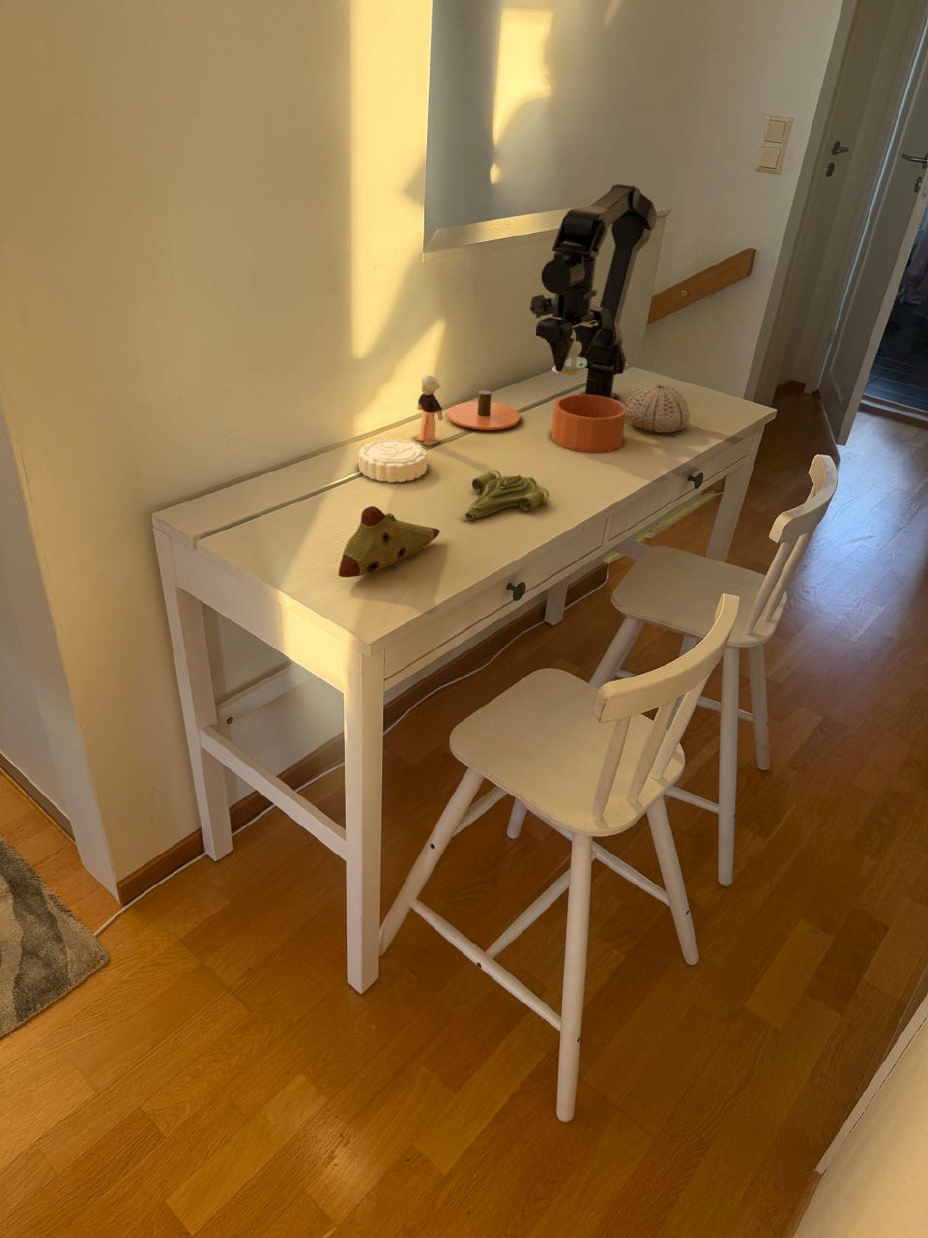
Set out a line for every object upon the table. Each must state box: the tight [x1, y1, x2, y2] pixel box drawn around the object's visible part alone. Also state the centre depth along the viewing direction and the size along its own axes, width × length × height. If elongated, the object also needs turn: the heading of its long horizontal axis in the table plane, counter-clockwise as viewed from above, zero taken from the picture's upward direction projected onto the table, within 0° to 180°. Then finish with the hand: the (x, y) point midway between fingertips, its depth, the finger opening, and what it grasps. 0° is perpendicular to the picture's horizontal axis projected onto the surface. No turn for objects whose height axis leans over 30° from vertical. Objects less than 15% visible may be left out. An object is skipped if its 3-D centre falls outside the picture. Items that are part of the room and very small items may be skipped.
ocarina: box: [338, 505, 440, 578], centre depth 127 cm, size 20×5×10 cm, turn 139°
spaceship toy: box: [464, 469, 550, 521], centre depth 147 cm, size 12×18×4 cm
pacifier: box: [551, 341, 587, 376], centre depth 174 cm, size 7×6×6 cm
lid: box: [447, 389, 521, 431], centre depth 178 cm, size 15×15×6 cm
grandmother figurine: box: [415, 374, 444, 446], centre depth 165 cm, size 8×4×13 cm, turn 47°
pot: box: [550, 393, 627, 453], centre depth 172 cm, size 14×14×6 cm
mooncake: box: [358, 439, 428, 483], centre depth 156 cm, size 12×12×4 cm
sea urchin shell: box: [623, 383, 691, 434], centre depth 179 cm, size 13×14×8 cm
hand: (568, 366), depth 175 cm, fingers closed on pacifier, 7 cm apart
